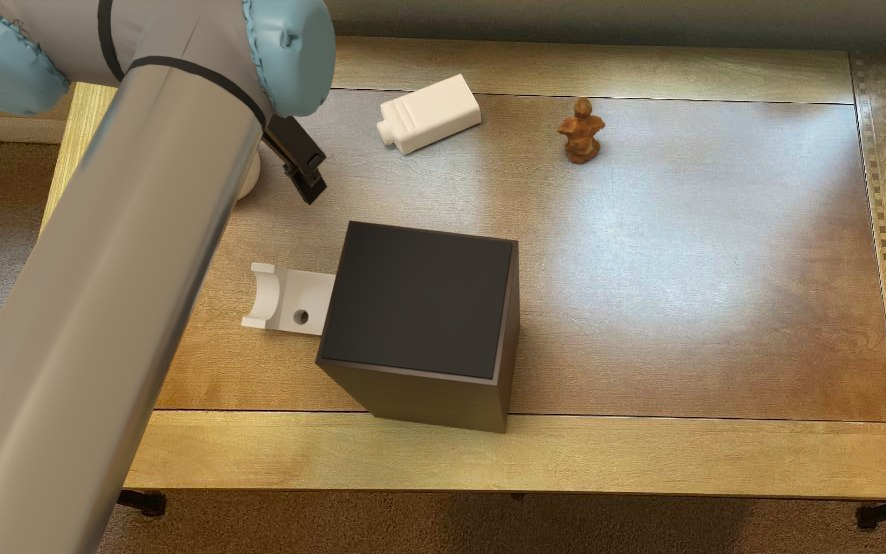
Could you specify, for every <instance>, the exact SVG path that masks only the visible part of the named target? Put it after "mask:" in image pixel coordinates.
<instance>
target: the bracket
mask: <svg viewBox="0 0 886 554" xmlns="http://www.w3.org/2000/svg"><path fill="white" fill-rule="evenodd" d="M250 271H251V272H252V273H253V274H254V276H255V280H256V294H255V299H254V302H253V305H252V308H251V310H250V311H249V313H248V314H247V315H246V316H242V319H241V327H248V328H257V329H264V330H276V331H282V332H283V331H285V332H291V333H300V334H307V335H315V336H321V335H322V331H323V327H324V323H325V319H326V315H327V310H328V306H329V302H330V298H331V294H332V290H333V286H334V281H335V277H336V274H333V273H332V274H331V273H323V272H317V271H315V272H314V271H306V270H299V269H290V268H286V267H283V266H280V265H277V264H273V263H264V262H255V261H251V265H250ZM304 313H306V314H307V315H308V319H307V321H306V322H305V323H303V321H302V316H303V314H304Z"/></svg>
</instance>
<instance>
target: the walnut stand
mask: <svg viewBox="0 0 886 554" xmlns="http://www.w3.org/2000/svg"><path fill="white" fill-rule="evenodd" d="M352 224H360V225H369V226H377V227H385V228H394V229H402V230H411V231H419V232H427V233H436V234H444V235H452V236H461V237H469V238H478V239H486V240H494V241H503V242H511V243H512V249H511V256H510V263H509V270H508V276H507V283H506V290H505V297H504V303H503V310H502V317H501V324H500V331H499V337H498V344H497V351H496V358H495V364H494V371H493V378H492V379H485V378H477V377H469V376H461V375H453V374H445V373H437V372H428V371H420V370H412V369H404V368H396V367H388V366H380V365H372V364H364V363H356V362H348V361H340V360H332V359H324V358H321V352H322V348H323V344H324V340H325V336H326V331H327V327H328V323H329V319H330V315H331V311H332V306H333V302H334V298H335V294H336V290H337V285H338V281H339V277H340V273H341V269H342V264H343V260H344V256H345V252H346V248H347V243H348V239H349V235H350V231H351V227H352ZM519 245H520V244H519V240H517V239H509V238H502V237H492V236H484V235H477V234H469V233H468V234H467V233H460V232H459V233H458V232H451V231H443V230H435V229H426V228H417V227H411V226H410V227H409V226H400V225H392V224H383V223H376V222H375V223H374V222H369V221H368V222H367V221H359V220H358V221H357V220H351V219H349V220H348V223H347V227H346V232H345V236H344V240H343V245H342V248H341V252H340V257H339V261H338V265H337V269H336V273H335V275H336V277H335V281H334V286H333V290H332V294H331V298H330V302H329V306H328V310H327V315H326V319H325V323H324V327H323V331H322V335H320V340H319V344H318V348H317V352H316V357H315V360H314V365H315V366H317V367H318V368H319V369H320V370H321V371H323V372H324V373H325V374H326V375H327V376H328V377H329V378H330V379H331V380H332V381H334V382H335V383H336V384H337V385H338V386H339V387H340V388H341V389H342V390H343V391H345V392H346V393H347V394H348V395H349V396H350V397H352V398H353V399H354V400H355V401H356V402H357V403H358V404H359V405H360V406H362V408H364V409H365V411H367V412H368V413H369V414H370V415H372V416H373V418H376V419H383V420H392V421H399V422H405V423H406V422H407V423H415V424H422V425H423V424H424V425H431V426H439V427H447V428H455V429H463V430H471V431H477V432H478V431H479V432H486V433H495V434H503V435H505V434H506V433H507V425H508V418H509V410H510V404H511V402H510V401H511V395H512V388H513V382H514V381H513V380H514V374H515V367H516V359H517V352H518V345H519V344H518V343H519V336H520V330H521V329H520V328H521V300H520V299H521V298H520V297H521V295H520V294H521V292H520V248H519V247H520V246H519Z"/></svg>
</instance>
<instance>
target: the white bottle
mask: <svg viewBox="0 0 886 554" xmlns="http://www.w3.org/2000/svg"><path fill="white" fill-rule="evenodd" d="M380 111H381V115H382V119H383V120H382V121H378V122H377V123H376V130H377V132H378V135H379V136H380V139H381V140H382V143H383V144H384V145H386V146H389V145H392V144H394V145H395V147H396V148H397V150H398V151H399V152H400V153H401V155H408V154H411V153H413V151H417V150H418V149H422V148H423V147H426V146H428V145H430V144H432V143H435V142H437V141H439V140H442V139H444V138H448V137H450V136H452V135H454V134H457V133H459V132H461V131H464V130H466V129H468V128H471V127H473V126H476V125H479V124H481V123H482V114H481V108H480V105H479V103H478V102H477V100H476V98H475V96H474V94H473V93H472V91H471V90H470V88H469V85H468V84H467V82H466V80H465V78H464V77H463V75H462V73H458V74H456V75H454V76H452V77H449V78H445V79H443V80H440V81H437V82H435V83H432V84H429V85H428V86H425V87H422V88H420V89H418V90H417V89H416V90H415V91H413V92H412V91H411V92H410V93H407V94H404V95H401V96H399V97H396V98H394V99H391V100H388V101H385V102H382V103H381V104H380Z"/></svg>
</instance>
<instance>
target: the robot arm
mask: <svg viewBox="0 0 886 554" xmlns="http://www.w3.org/2000/svg"><path fill="white" fill-rule="evenodd" d="M336 43H337V42H336V33H335V28H334V24H333V21H332V18H331V15H330V11H329V8H328V7H327V4H326V3H325V1H324V0H0V112H4V113H7V114H10V115H11V114H12V115H16V116H24V117H25V116H26V117H32V116H36V115H38V114H45V113H48V112H51V111H52V110H53V109H54V108H55V107H56V106H57V105H58V104H59V102H60V101H61V100H62V99H63V98H64V96H67V95H68V93H69V91H70V87H71V85H72V83H83V84H90V85H96V86H103V87H108V88H115V89H116V91H115V92H114V95H113V96H112V99H111V101H110V102H109V104H108V106H107V108H106V110H105V112H104V114H103V116H102V118H101V119H100V121H99V123H98V125H97V127H96V129H95V131H94V133H93V135H92V136H91V139H90V140H89V142H88V144H87V146H86V147H85V151H84V152H83V154H82V156H81V158H80V159H79V161H78V163H77V165H76V167H75V169H74V170H73V173H72V174H71V176H70V178H69V180H68V182H67V183H66V185H65V188H63V189H64V190H63V191H62V193H61V195H60V197H59V199H58V201H57V202H56V205H55V207H54V208H53V210H52V212H51V214H50V216H49V218H48V220H47V222H46V224H45V225H44V228H43V229H42V231H41V233H40V235H39V237H38V239H37V240H36V242H35V244H34V247H33V248H32V250H31V252H30V253H29V256H28V258H27V260H26V262H25V263H24V265H23V267H22V269H21V271H20V273H19V275H18V277H16V278H17V279H16V280H15V282H14V284H13V286H12V288H11V290H10V292H9V294H8V295H7V297H6V299H5V301H4V303H3V304H2V307H1V309H0V554H97V553H98V550H99V547H100V545H101V543H102V539H103V537H104V535H105V533H106V530H107V527H108V525H109V522H110V520H111V517H112V514H113V512H114V510H115V507H116V505H117V502H118V500H119V497H120V495H121V492H122V490H123V487H124V485H125V482H126V480H127V478H128V475H129V472H130V471H131V470H130V469H131V467H132V465H133V462H134V460H135V457H136V455H137V452H138V449H139V447H140V445H141V443H142V440H143V437H144V435H145V431H146V430H147V428H148V424H149V422H150V419H151V418H152V414H153V412H154V409H155V407H156V404H157V402H158V400H159V398H160V395H161V392H162V391H163V390H162V389H163V388H164V385H165V382H166V380H167V378H168V374H169V373H170V370H171V368H172V364H173V362H174V359H175V357H176V355H177V352H178V349H179V347H180V344H181V342H182V339H183V337H184V334H185V332H186V329H187V327H188V324H189V322H190V319H191V317H192V314H193V312H194V309H195V307H196V304H197V302H198V299H199V297H200V294H201V292H202V289H203V287H204V284H205V282H206V279H207V278H208V274H209V272H210V269H211V267H212V264H213V263H214V259H215V257H216V254H217V252H218V249H219V246H220V244H221V241H222V239H223V237H224V234H225V232H226V230H227V226H228V224H229V223H230V220H231V217H232V214H233V211H234V209H235V206H236V204H237V201H238V200H237V199H238V197H239V194H240V192H241V189H242V187H243V184H244V182H245V179H246V177H247V174H248V172H249V169H250V167H251V164H252V162H253V159H254V156H255V154H256V151H257V150H259V146H260V144H261V142H262V143H263V144H265V145H266V146H267V147H268V149H270V150H271V151H272V152H273V153H274V154H275V155H276V156H277V157H278V158H279V159H280V160H281V161H282V162H283V163H284V164H283V165H282V168H283V170H284V172H283V174H284V175H285V176H287V177H288V178H289V179H290V181H291V182H292V184H293V186H294V187H295V189H296V191H297V193H298V194H299V196H300V197H301V199H302V201H303V202H304V203H305V204H307V205H308V206H311V205H313V203H314V202H315V201H316V200H317V199H318V198H319V197H320V196H321V195H322V193H324V192H325V190H326V189H327V188H328V185H327V183H326V181H325V179H324V178H323V175H322V174H321V172H320V170H319V167H320V166H321V165H322V164H323V162H324V161H325V160H327V155H326V153H325V152H324V151H323V150H322V149H321V148H320V146H319V145H318V144H317V143H316V142H315V140H314V139H313V138H312V137H311V136H310V134H309V133H308V132H307V131H306V129H304V127H303V126H302V125H301V124H300V123H299V121H298V120H297V119H296V118H295V117H299V118H300V117H301V118H306V117H310V116H312V115H313V114H315V113H316V112H317V111H318V109H319V108H320V107H321V106H323V104H324V103H325V101H326V100H327V99H328V96H329V94H330V91H331V88H332V86H333V85H332V84H333V81H334V75H335V70H336V61H337V44H336Z"/></svg>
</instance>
